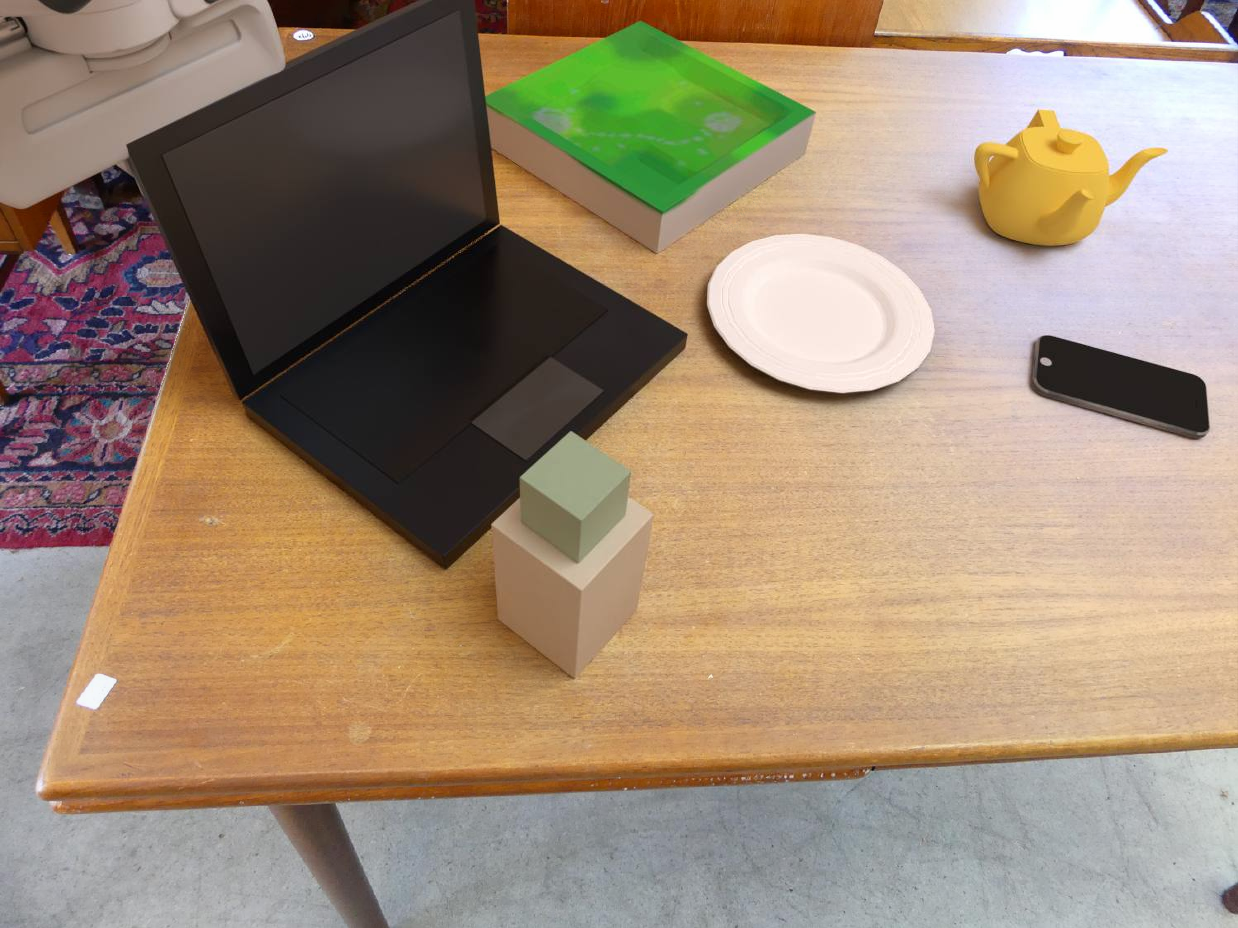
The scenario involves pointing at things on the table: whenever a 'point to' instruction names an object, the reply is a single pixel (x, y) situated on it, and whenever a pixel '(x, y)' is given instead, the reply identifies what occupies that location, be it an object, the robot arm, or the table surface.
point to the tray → (647, 132)
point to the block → (574, 496)
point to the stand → (569, 586)
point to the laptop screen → (325, 186)
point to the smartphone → (1121, 386)
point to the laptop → (464, 388)
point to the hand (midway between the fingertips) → (170, 194)
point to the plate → (820, 313)
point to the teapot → (1050, 182)
